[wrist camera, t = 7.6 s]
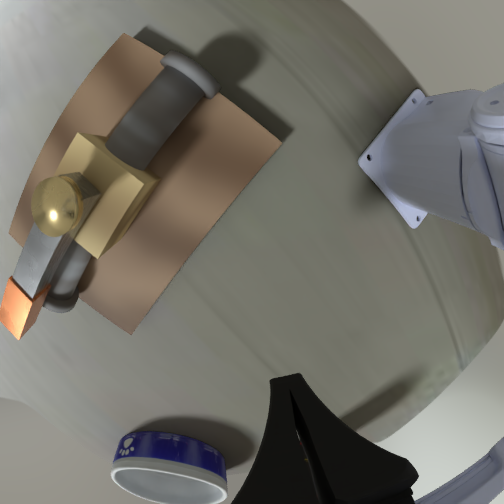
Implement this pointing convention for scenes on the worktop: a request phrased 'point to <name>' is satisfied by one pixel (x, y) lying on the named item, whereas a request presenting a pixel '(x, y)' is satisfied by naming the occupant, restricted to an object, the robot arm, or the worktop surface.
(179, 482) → the dog bowl
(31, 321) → the valve lever
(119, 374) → the worktop surface
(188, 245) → the valve board
